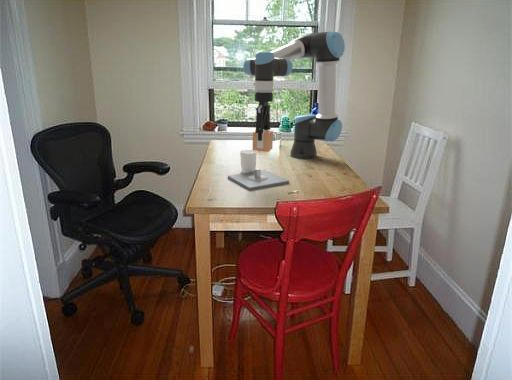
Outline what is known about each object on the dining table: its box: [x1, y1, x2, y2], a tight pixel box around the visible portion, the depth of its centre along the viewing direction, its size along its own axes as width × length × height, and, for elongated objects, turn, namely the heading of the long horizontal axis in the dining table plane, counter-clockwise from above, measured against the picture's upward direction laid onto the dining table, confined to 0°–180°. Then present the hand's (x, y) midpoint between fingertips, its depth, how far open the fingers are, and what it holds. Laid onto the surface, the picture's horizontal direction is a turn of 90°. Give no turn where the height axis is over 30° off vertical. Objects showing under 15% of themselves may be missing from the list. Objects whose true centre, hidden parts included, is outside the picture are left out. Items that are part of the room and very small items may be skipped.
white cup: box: [239, 149, 258, 173], centre depth 174 cm, size 8×8×10 cm
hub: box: [227, 168, 290, 191], centre depth 161 cm, size 20×20×5 cm
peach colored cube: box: [252, 129, 274, 153], centre depth 156 cm, size 7×7×8 cm
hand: (262, 146), depth 157 cm, fingers closed on peach colored cube, 7 cm apart
